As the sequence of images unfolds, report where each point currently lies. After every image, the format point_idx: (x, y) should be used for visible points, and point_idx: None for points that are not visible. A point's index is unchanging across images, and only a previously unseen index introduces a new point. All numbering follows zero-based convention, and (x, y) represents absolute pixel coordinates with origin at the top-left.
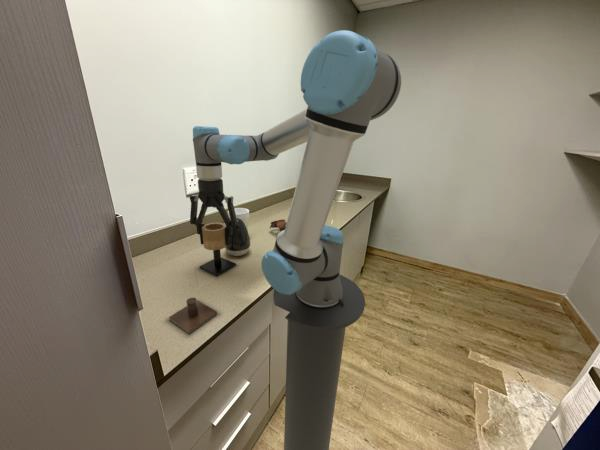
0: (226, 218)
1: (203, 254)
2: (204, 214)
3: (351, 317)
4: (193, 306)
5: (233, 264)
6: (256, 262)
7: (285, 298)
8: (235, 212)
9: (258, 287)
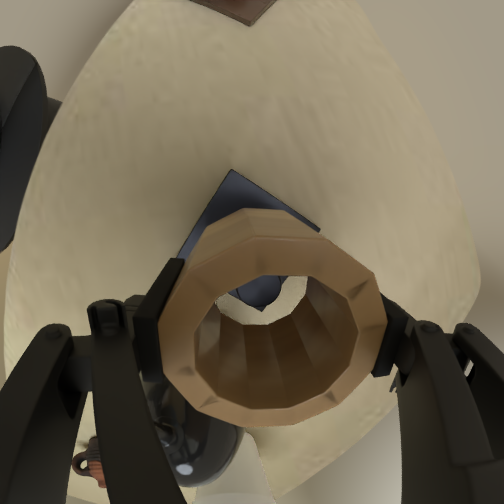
0: (94, 395)
1: None
2: (409, 436)
3: None
4: None
5: (181, 251)
6: (107, 286)
7: (19, 108)
8: None
9: (71, 121)
